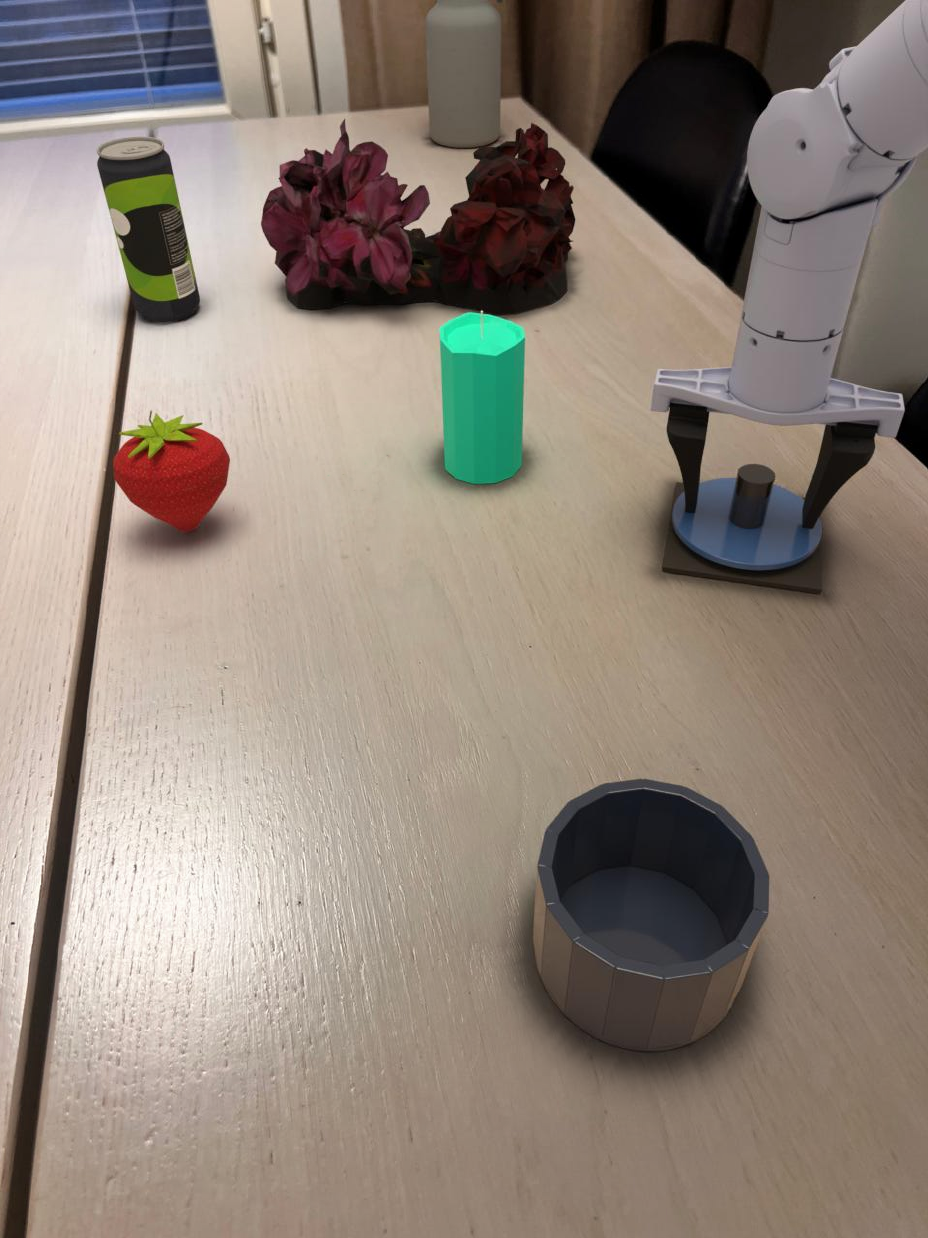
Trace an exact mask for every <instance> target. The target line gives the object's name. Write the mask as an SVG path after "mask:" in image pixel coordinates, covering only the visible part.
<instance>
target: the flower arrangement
mask: <svg viewBox="0 0 928 1238" xmlns="http://www.w3.org/2000/svg"><path fill="white" fill-rule="evenodd" d="M339 129H340V135H341V136H340V137H339V138H338V140H337V142H336V143H335V146H334V149H333V152H332V153H331V151H329V150H328V149H324V150H325V151H324V152H323V153H321V152H319V151H317V150H316V149H309V148H307V147H306V148H304V149H303V153H304V155H303V156H302V157H301V158H300V159H299V160H296V159H295V160H294V159H293V160H289V161H286V162H283V163H281V164H279V177H278V180H279V183H280V185H279V186H277V187H275V188H273V189H271V190H270V191H269V192H268V195H267V197H266V198H265V202H264V204H263V207H262V214H261V220H260V227H261V230H262V233H263V235H264V237H265V239H266V241H267V243H268V245H269V246H270V247H271V248H272V249H273V250H274V251H275V259H274V265H275V266H276V267H277V268H278V269H279V270H280V272H282V274H283V275H284V276H285V278H284V286H285V287H284V288H285V292H286V298H287V299H288V300H289V302H291V303H292V304H293V305H294V306H295V307H296V308H298V309H305V310H324V309H325V310H326V309H327V310H328V309H331V308H334V307H336V306H340V305H343V304H349V305H357V306H359V305H360V306H373V305H374V306H375V305H389V304H393V305H395V304H396V305H403V304H405V305H406V304H412V303H413V304H414V303H427V302H428V303H429V302H438V303H440V304H445V305H449V306H454V307H459V308H460V307H461V308H466V309H470V310H474V311H479V312H481V311H483V313H485V314H489V315H493V316H497V315H498V316H499V315H517V314H520V313H523V312H524V313H525V312H528V311H531V310H535V309H539V308H542V307H547V306H550V305H552V304H553V303H555V302H557V301H559V300H561V299H562V297H564V295H565V294H566V292H567V291H568V276H567V269H566V264H565V262H566V261H567V260H568V259H569V252H570V251H571V250H572V249H573V247H572V245H571V243H572V242H574V240H571V239H570V236H571V235H572V234H573V233H574V229H575V226H576V225H575V224H576V215H575V213H574V209H573V204H574V201H573V199H572V194H573V192H574V189H575V187H574V186H573V184H572V185H570V182H569V181H568V180H567V179H566V178H565V177H564V175H562V174H563V172H564V169H565V166H566V164H567V163H566V159H565V157H564V156H563V155H562V154H561V153H560V151H559V150H558V149H556V148H554V147H549V134H548V132H546V130H544V129H543V128H542V127H540V126H539V125H537V124H536V123H533V122H531V123H530V127H529V128H526V130H525V132H524V129H523V128H522V127H519V128H517V129H515V140H506V141H504V142H502V143H500V144H499V145H496V146H489V145H484V146H480V147H477V149H476V150H474V151H473V153H472V155H473V159H474V160H478V162H477V163H476V165H475V166H474V167H473V168H472V170H470V172H469V173H468V174H467V175H466V176H465V177H464V178H465V179H464V180H465V183H466V189H467V192H468V198H467V199H466V200H463V201H460V202H457V203H454V204H453V205H452V206H451V207H450V208H449V211H450V216H448V217H447V218H446V219H445V221H444V224H442V227H441V229H440V231H437V232H435V233H434V234H431V235H427V236H426V233H425V232H424V230H423V229H422V228H421V227H418V228H412V229H406V228H405V227H407V226H409V225H411V224H412V223H414V222H417V221H419V220H420V219H421V217H422V216H423V214H424V213H425V211H426V210H427V209H428V208H429V206H430V205H431V199H430V193H429V191H428V188H427V187H426V185H425V184H420V185H419V186H417V188H415V189H414V190H413V191H412V192H411V193H410V194H409V195H408V196H407V197H405V198H403V199H402V196H403V195H404V193H405V192H406V189H407V187H409V186H408V185H409V184H408V183H401V184H399V181H398V178H397V177H394V176H391V174H390V173H389V171H386V169H387V164H388V158H389V154H388V153H387V151H386V149H385V148H383V147H382V146H381V145H379V144H378V143H376V142H374V141H372V140H371V141H363V142H361V143H358V144H356V145H355V146H354V147H353V148H352V149H350V137H349V135H348V131H347V127H346V118H344V119H343V120H342V122H341V123H340V125H339ZM385 171H386V172H385ZM545 180H547V183H546V185H545V187H544V188H543V187H542V184H543V183H544V182H545Z"/></svg>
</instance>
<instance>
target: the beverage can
mask: <svg viewBox="0 0 928 1238" xmlns="http://www.w3.org/2000/svg"><path fill="white" fill-rule="evenodd" d="M96 153H97V155H98V159H97V161H96V165H97V170H98V175H99V178H100V181H101V186H102V189H103V193H104V197H105V200H106V204H107V208H108V211H109V216H110V220H111V223H112V227H113V231H114V235H115V239H116V242H117V247H118V250H119V254H120V257H121V261H122V265H123V269H124V273H125V277H126V280H127V285H128V289H129V292H130V296H131V299H132V305H133V307H134V310H135V311H136V313H137V314H139V315H140V316H142V318H143V319H145V320H146V321H149V322H153V323H160V324H161V323H162V324H163V323H164V324H165V323H174V322H178V321H182V320H184V319H187V318H188V317H191V316H192V315H193V314H194V313H196V310H197V308H198V306H199V304H200V302H201V297H200V293H199V287H198V284H197V278H196V274H195V273H196V272H195V269H194V264H193V259H192V254H191V250H190V245H189V240H188V237H187V231H186V226H185V221H184V217H183V212H182V207H181V202H180V198H179V194H178V188H177V184H176V180H175V174H174V170H173V165H172V161H171V156H170V155H169V153H168V152H167V151H166V150H165V143H164V141H163V140H161V139H160V138H157V137H153V136H126V137H120V138H115V139H112V140H109V141H105V142H103V143H101V144H100V145H99V146H97V148H96Z"/></svg>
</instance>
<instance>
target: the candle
mask: <svg viewBox="0 0 928 1238" xmlns="http://www.w3.org/2000/svg"><path fill="white" fill-rule="evenodd" d="M439 349H440V350H439V351H440V377H441V378H440V380H441V404H442V405H441V407H442V430H443V431H442V432H443V455H444V456H443V457H444V458H443V459H444V470H445V471H447V472H448V474H450V475H451V476H453V478H454V479H456V480H459V481H461V482H466V483H470V484H474V485H482V484H484V485H485V484H497V483H499V482H503V481H505V480H507V479H510V478H513V477H514V476H515V474H516V473H518V471H519V470H520V469H521V468H522V467H523V462H522V461H523V435H524V433H523V432H524V431H523V429H524V392H525V390H524V389H525V360H526V359H525V355H526V334H525V329H524V327H523V326H521V325H519V324H517V323H515V322H513V321H511V320H508V319H505V318H501V317H499V316H497V315H494V314H489V313H484V312H483V311H480V313H479V312H471V311H468V312H465V313H463V314H461V315H459V316H456V317H454V318H451V319H449V320H448V321H447V322H445V323H444V324H443V325H442V326H440V327H439Z"/></svg>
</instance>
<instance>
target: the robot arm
mask: <svg viewBox="0 0 928 1238" xmlns="http://www.w3.org/2000/svg"><path fill="white" fill-rule="evenodd" d="M828 67H829V70H830V71H829V72H828V73H827V74H826V75H825V76H824V78H823V79H822V80H821V82H820V83H819V84H818V85H817V86H816V87H815V88H813V89H811V88H808V87H799V88H793V89H792V88H791V89H787V90H784V91H781V92H778V93H776V94H775V95H773V96H772V97H771V99H770V101H769V102H768V104H767V107H766V108H765V109H764V110H763V111H762V112H761V114H760V115H759V117H758V118H757V120H756V121H755V123H754V126H753V128H752V129H751V130H752V131H751V133H750V137H749V139H748V145H747V153H746V169H747V176H748V181H749V185H750V188H751V190H752V192H753V195H754V196H755V199H756V200H757V202H758V203H759V204H760V206H761V207H760V213H759V218H758V224H757V227H756V228H757V229H756V234H755V239H754V244H753V245H754V246H753V250H752V255H751V261H750V266H749V272H748V277H747V283H746V288H745V294H744V298H743V304H742V310H741V314H740V319H739V326H738V331H737V337H736V340H735V346H734V352H733V358H732V363H731V366H722V367H721V366H719V367H708V368H707V367H706V368H705V367H704V368H691V369H666V368H657V369H656V373H655V378H654V383H653V387H652V398H651V404H650V411H651V412H657V413H667V412H668V417H667V422H666V435H667V440H668V443H669V445H670V446H671V449H672V451H673V453H674V456H675V458H676V461H677V464H678V467H679V471H680V475H681V478H682V479H681V480H682V483H683V485H684V492H685V512H686V513H693V514H695V511H696V506H697V499H698V491H699V484H700V483H701V472H702V471H701V470H702V469H701V468H702V461H703V457H704V453H705V452H704V451H705V446H706V442H707V441H706V440H707V433H708V427H709V419H710V413H714V414H715V413H717V414H724V415H725V414H726V415H732V416H736V417H739V418H742V419H746V420H748V421H749V420H750V421H752V422H756V423H759V424H764V425H770V426H783V427H786V426H788V427H789V426H804V425H805V426H806V425H825V426H824V431H823V435H822V439H821V444H820V449H819V453H818V456H817V461H816V464H815V466H814V467H815V468H814V471H813V473H812V476H811V479H810V482H809V485H808V486H807V487H808V488H807V490H806V493H805V496H804V498H805V500H804V505H803V509H802V528H808V529H813V528H814V526H815V524H816V522H817V520H818V518H819V517H820V516H821V515H822V513H823V512H824V510H825V509H826V507H827V506H828V504H829V503H830V501H831V500H833V498H834V496H835V495H836V494H837V493H838V492H839V491H840V490H841V488H842V487H844V485H845V484H847V482H848V481H849V480H850V479H851V478H852V477H853V476H854V475H856V474H857V473H858V472H859V471H861V470H862V469H864V467H866V466H867V465H868V464H869V462H870V461H871V459H873V456H874V453H875V450H876V441H875V438H876V436H879V437H882V438H883V437H884V438H891V439H895V438H897V435H898V432H899V429H900V426H901V423H902V420H903V418H904V414H905V410H906V407H905V403H904V402H905V401H904V397H903V393H900V392H899V393H898V392H891V391H885V390H880V389H875V388H870V387H866V386H863V385H859V384H856V383H851V382H849V381H843V380H841V379H837V378H833V377H832V374H833V370H834V367H835V363H836V360H837V356H838V353H839V349H840V345H841V342H842V337H843V333H844V330H845V324H846V322H847V321H846V320H847V318H848V313H849V311H850V310H849V309H850V306H851V303H852V299H853V295H854V291H855V288H856V284H857V280H858V277H859V273H860V269H861V265H862V261H863V258H864V255H865V251H866V248H867V247H866V246H867V244H868V240H869V236H870V232H871V231H872V228H874V227H877V226H878V223H879V219H880V216H881V212H882V210H883V206H884V204H885V202H886V201H887V199H888V198H889V196H891V195H892V194H893V193H894V192H896V191H897V190H898V189H899V188H900V187H901V186H902V185H903V183H904V182H905V181H906V180H907V178H908V177H909V175H910V174H911V173H912V170H913V168H914V166H915V165H916V162H917V159H918V156H919V154H921V153H922V152H924V151H925V150H926V149H927V148H928V0H904V1H903V2H902V3H901V4H900V5H898V7H897V8H895V10H893V12H891V13H890V14H889V15H888V16H887V17H886V18H885V19H884V20H883V21H882V22H881V23H880V24H879V25H877V26H876V27H875V29H873V30H872V31H871V32H870V33H869V34H868V35H867V36H866V37H865V38H863V40H862V41H861V42H860V43H859V44H858V45H856V46H851V47H846V48H843V49H841V50H840V51H839V52H838V53H837V54H835V56H834V57H833V58H831V60H830V61H829V63H828ZM820 518H821V517H820Z"/></svg>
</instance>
